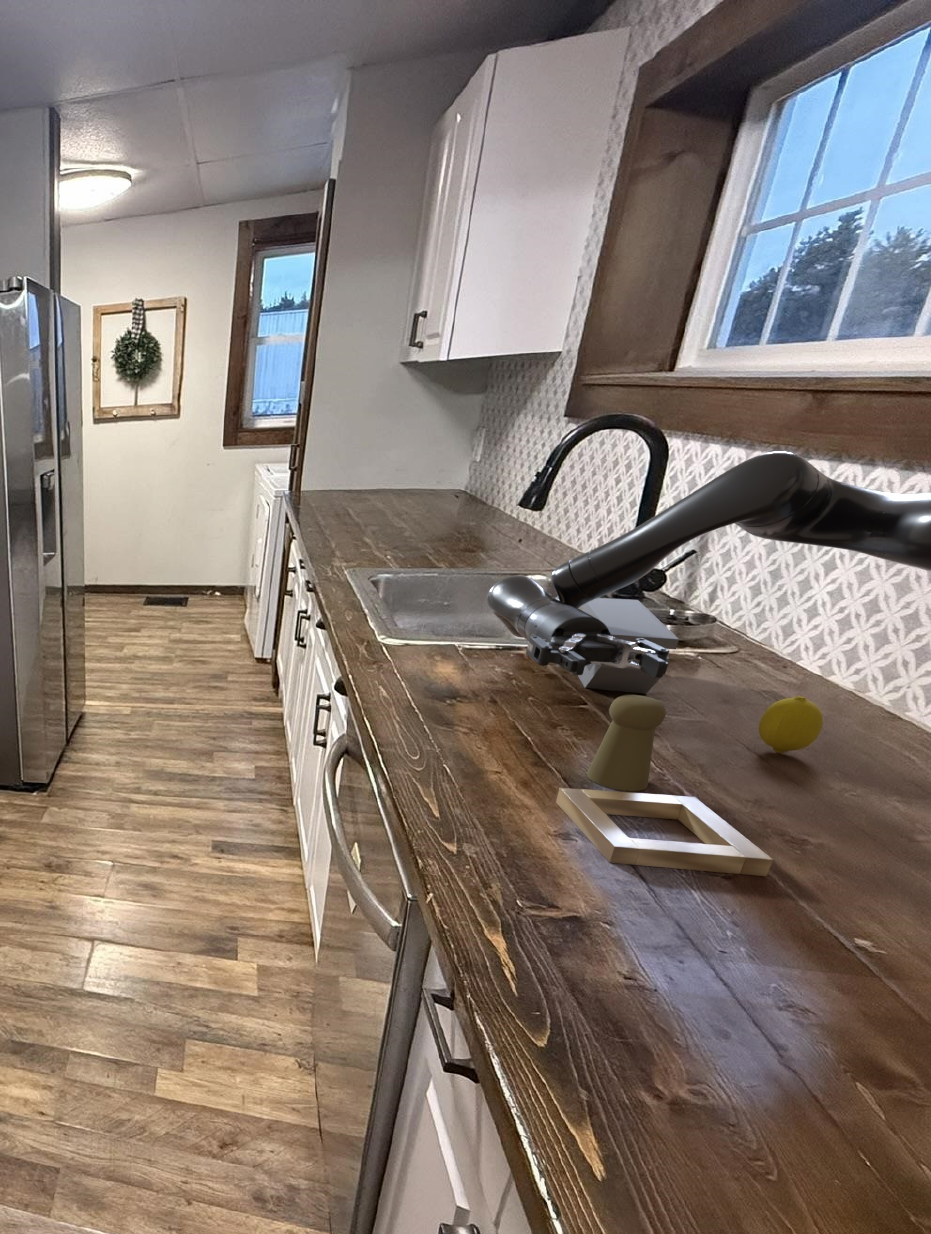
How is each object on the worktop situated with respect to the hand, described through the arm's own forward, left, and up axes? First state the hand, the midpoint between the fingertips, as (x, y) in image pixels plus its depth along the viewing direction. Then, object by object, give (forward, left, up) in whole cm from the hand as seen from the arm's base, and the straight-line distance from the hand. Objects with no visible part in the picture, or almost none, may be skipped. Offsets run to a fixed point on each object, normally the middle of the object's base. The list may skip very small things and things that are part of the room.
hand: (620, 669), depth 97 cm
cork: (+2, +5, -13) cm, 14 cm away
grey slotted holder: (-28, -26, -13) cm, 40 cm away
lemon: (-24, +3, -13) cm, 27 cm away
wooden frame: (+10, +17, -13) cm, 24 cm away
